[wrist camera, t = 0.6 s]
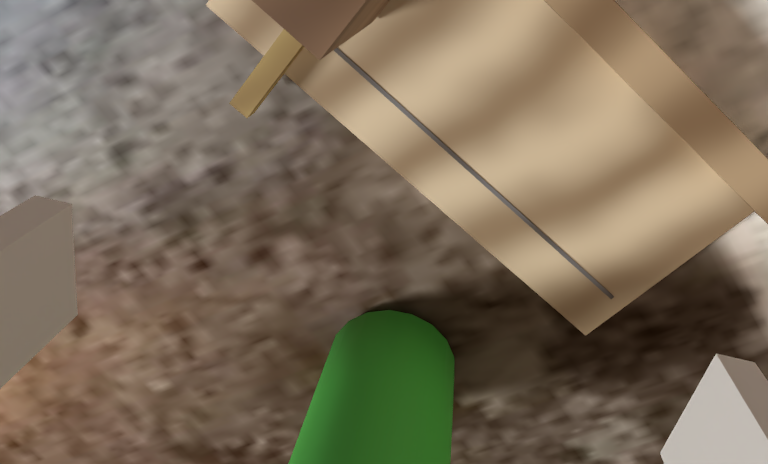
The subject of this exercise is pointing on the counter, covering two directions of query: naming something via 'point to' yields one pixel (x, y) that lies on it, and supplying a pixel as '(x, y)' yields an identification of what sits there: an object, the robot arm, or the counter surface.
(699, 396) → the robot arm
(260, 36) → the board
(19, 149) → the counter surface
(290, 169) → the counter surface
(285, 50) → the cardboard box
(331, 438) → the bottle
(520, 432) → the counter surface
